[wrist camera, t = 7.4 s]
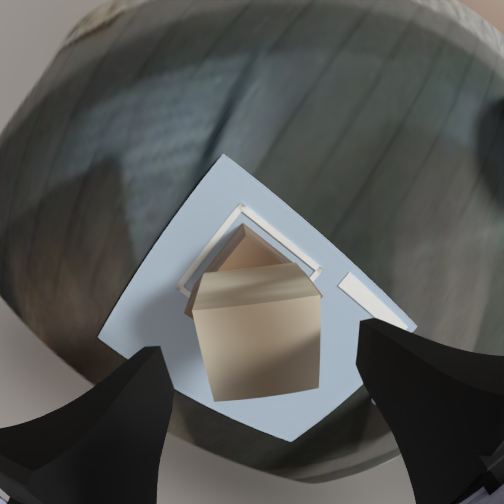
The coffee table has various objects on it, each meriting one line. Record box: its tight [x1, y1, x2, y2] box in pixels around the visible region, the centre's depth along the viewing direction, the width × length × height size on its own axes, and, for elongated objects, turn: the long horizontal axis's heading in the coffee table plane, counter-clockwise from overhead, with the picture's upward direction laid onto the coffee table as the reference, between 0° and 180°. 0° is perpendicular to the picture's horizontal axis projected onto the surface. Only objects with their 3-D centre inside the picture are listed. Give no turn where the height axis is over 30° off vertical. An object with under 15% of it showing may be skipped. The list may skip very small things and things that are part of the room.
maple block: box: [192, 262, 321, 402], centre depth 12 cm, size 4×4×4 cm
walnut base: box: [184, 223, 323, 320], centre depth 15 cm, size 5×5×4 cm
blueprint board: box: [98, 154, 417, 442], centre depth 19 cm, size 20×16×1 cm
